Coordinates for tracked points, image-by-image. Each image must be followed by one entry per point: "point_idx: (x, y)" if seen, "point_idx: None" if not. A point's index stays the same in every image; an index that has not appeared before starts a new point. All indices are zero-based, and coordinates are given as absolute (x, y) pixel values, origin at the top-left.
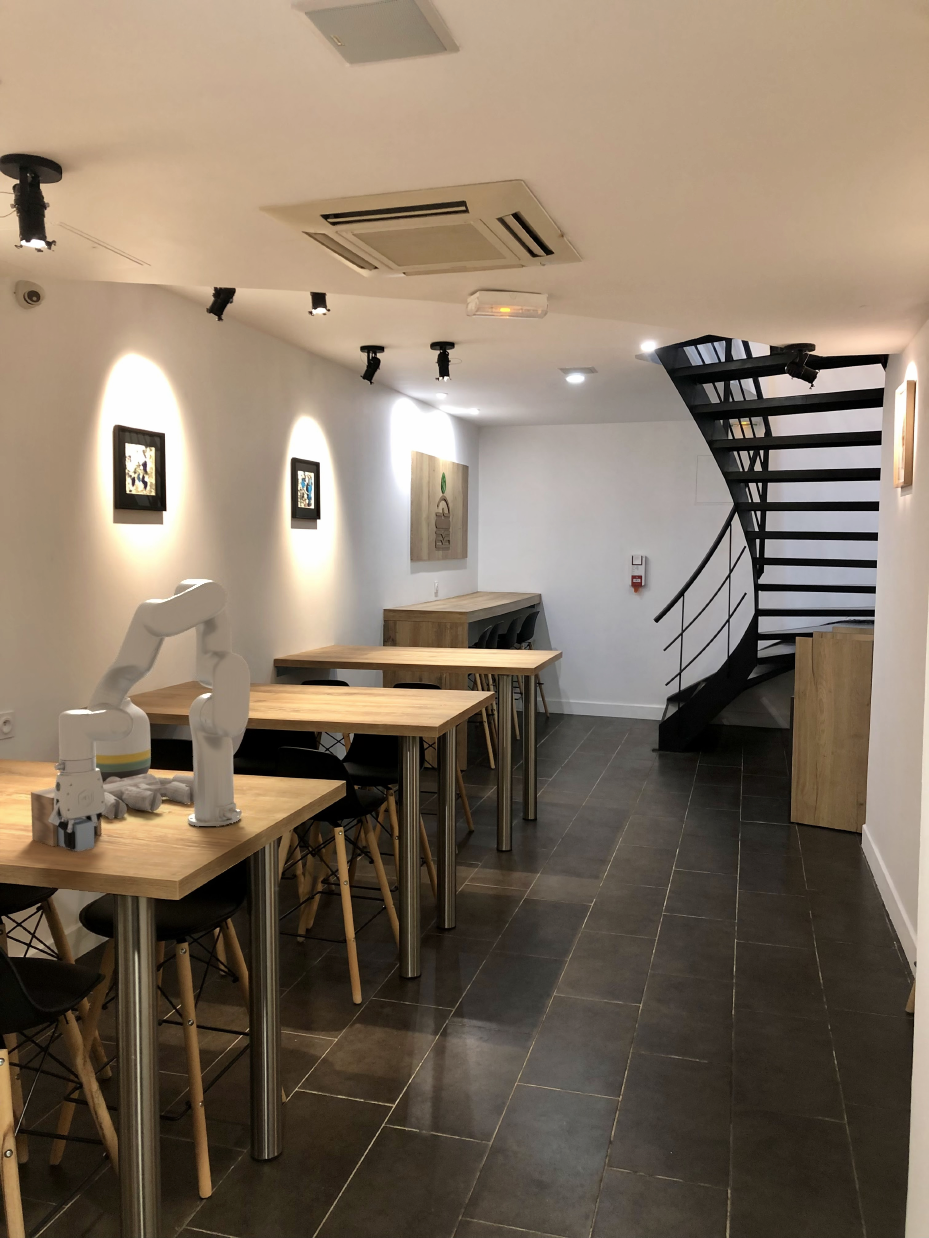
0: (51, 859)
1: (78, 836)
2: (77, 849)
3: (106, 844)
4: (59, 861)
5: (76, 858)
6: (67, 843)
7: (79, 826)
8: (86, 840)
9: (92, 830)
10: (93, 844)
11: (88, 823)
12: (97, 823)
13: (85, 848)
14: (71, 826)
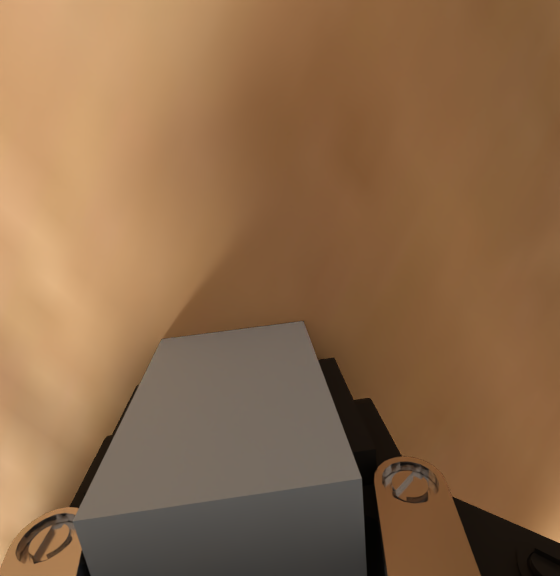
0: (516, 285)
1: (316, 384)
2: (306, 333)
3: (55, 346)
4: (512, 192)
5: (393, 164)
6: (374, 407)
7: (320, 463)
8: (225, 365)
9: (138, 425)
10: (164, 349)
11: (172, 493)
12: (20, 535)
13: (239, 334)
14: (404, 515)
